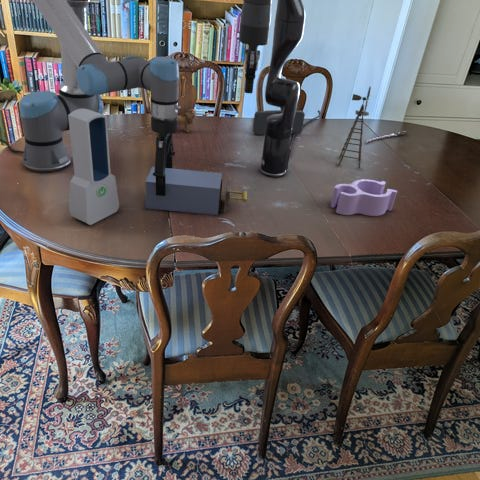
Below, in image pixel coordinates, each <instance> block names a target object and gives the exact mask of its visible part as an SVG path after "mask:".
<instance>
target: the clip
mask: <svg viewBox="0 0 480 480" xmlns="http://www.w3.org/2000/svg"><path fill="white" fill-rule="evenodd" d="M386 184H387V182H386V181H385V180H381V181H378V180H375V179H369V178H368V179H367V178H361V179H356V180H354V181H353V182H352V183H338V184H336V185H335V186H334V188H333V193H332V198H331V203H330V207H331V208H336V210H335V213H337V214H339V215H343V216H351V215H355V214H360V215H364V216H370V217H378V216H382V215H384V214H386V212H387V211H392V210H393V206H394V203H395V201H396V197H397V194H398V190H397V189H393V188H387V189H386V192H385V188H386ZM384 192H385V193H384Z"/></svg>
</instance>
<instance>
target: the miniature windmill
mask: <svg viewBox="0 0 480 480" xmlns="http://www.w3.org/2000/svg"><path fill="white" fill-rule="evenodd" d="M371 90H372V89H371V86H369V87H368V90H367V93H366V94H367V95H366V96H361V95H359V94H355V93H353V94H352V98H351V101H362V104H361V106H360V107H359V108H360V109H359V110H357V109H356V110H355V115H356V117H355V120H354V122H353V123H352V127H351V128H350V131H349V133H348V136H347V138H346V139H345V142H344V144H343V147H342V149H341V152H340V154H339V157H338V158H339V159H340V160H339V162H338V165H339V166H341V164H342V161H343V159H344V158H349V159H354V160H357V162H358V167H357V169H361V161H362V146H363V134H364V132H363V127H364V122H365V121H364V117H367V116H370V114H369V112H368V111H366V110H367V107H368V103H369V100H370V96H371V95H370V94H371ZM358 123H361V124H360V128H357V127H356V126H357V124H358ZM355 130H357V131H355ZM359 131H360V132H359ZM353 133H354V134H359V135H360V136H359V138H352V136H353ZM351 140H352V141H353V140H354V141H358V142H359V143H353V142H350V141H351ZM349 145H354V146H359V147H358V150H352V149H347V148H348V146H349ZM346 151H347V152H350V153H351V152H352V153H358V157H353V156H348V155H345V154H346Z"/></svg>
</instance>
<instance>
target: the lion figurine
mask: <svg viewBox="0 0 480 480" xmlns="http://www.w3.org/2000/svg"><path fill="white" fill-rule="evenodd" d="M177 118H178V126H183V130H184V131H185V132H186V133H189V132H190V130H189V128H190V127H189V126H190V125H193V123H194V122H195V121H196V119H197V110H195V109H194V108H190V109H188V110H187V111H186V112H184V113H183V114H182V115H178V116H177Z"/></svg>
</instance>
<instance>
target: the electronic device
mask: <svg viewBox="0 0 480 480" xmlns="http://www.w3.org/2000/svg"><path fill="white" fill-rule="evenodd" d="M68 119H69V128H70V130H69V135H70V136H69V137H70V145H71V154H72V155H71V156H72V164H73V172H74V175H73V176H72V178H71V180H70V181H69V184H70V185H69V196H68V197H69V199H68V211H69V213H70V216H71V217H73V218H74V219H76V220H78V221H81V222H83V223H84V224H87V225H89V226H92V225H94V224H96V223H98V222H99V221H102V220H103V219H105V218H107V217H109V216H111V215H113V214H115V213H117V212H118V210H119V208H120V202H119V195H118V188H117V181H116V175H114V174H112V173H111V161H110V145H109V143H110V142H109V130H108V116H107V115H106V114H104V113H103V114H100V113H97V112H94V111H91V110H88V109H77V110H75V111H73V112H71V113H70V114H69V115H68Z"/></svg>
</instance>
